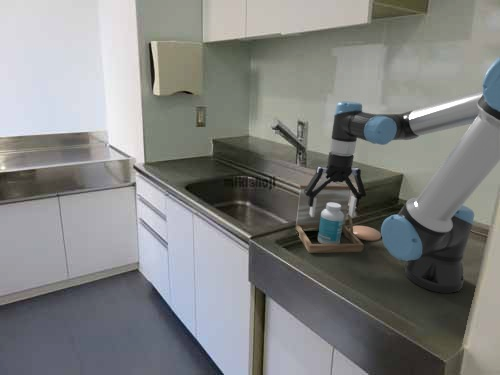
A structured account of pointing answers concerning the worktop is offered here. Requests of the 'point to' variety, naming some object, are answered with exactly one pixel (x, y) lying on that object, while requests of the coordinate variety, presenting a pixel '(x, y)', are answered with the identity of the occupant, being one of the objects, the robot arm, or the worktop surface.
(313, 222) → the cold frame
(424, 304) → the worktop surface
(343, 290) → the worktop surface
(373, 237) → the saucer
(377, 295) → the worktop surface
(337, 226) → the pill bottle
